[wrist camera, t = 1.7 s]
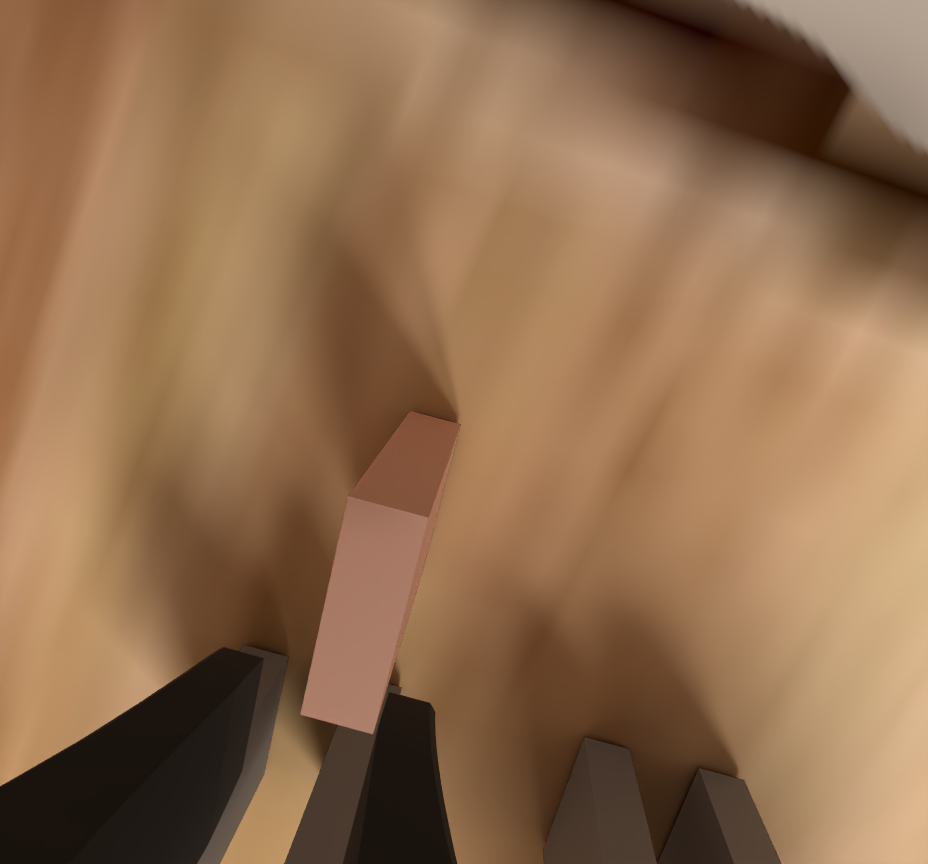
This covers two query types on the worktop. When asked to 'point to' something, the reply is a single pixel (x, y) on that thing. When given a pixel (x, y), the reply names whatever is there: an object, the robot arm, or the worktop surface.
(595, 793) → the charcoal tile
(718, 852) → the charcoal tile
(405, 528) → the brick tile
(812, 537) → the worktop surface
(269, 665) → the charcoal tile
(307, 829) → the charcoal tile
